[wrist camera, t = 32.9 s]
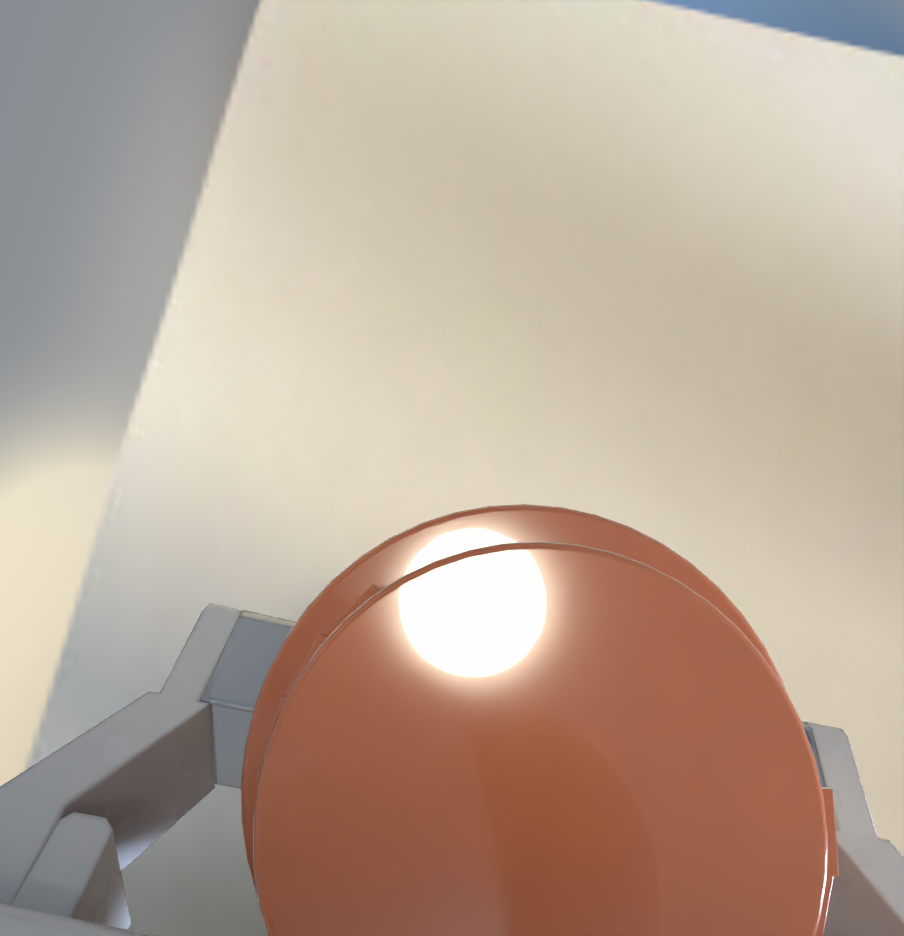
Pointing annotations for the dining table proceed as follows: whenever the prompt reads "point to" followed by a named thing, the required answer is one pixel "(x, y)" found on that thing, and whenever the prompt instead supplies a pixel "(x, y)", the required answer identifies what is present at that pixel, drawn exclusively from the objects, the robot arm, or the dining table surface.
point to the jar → (531, 747)
